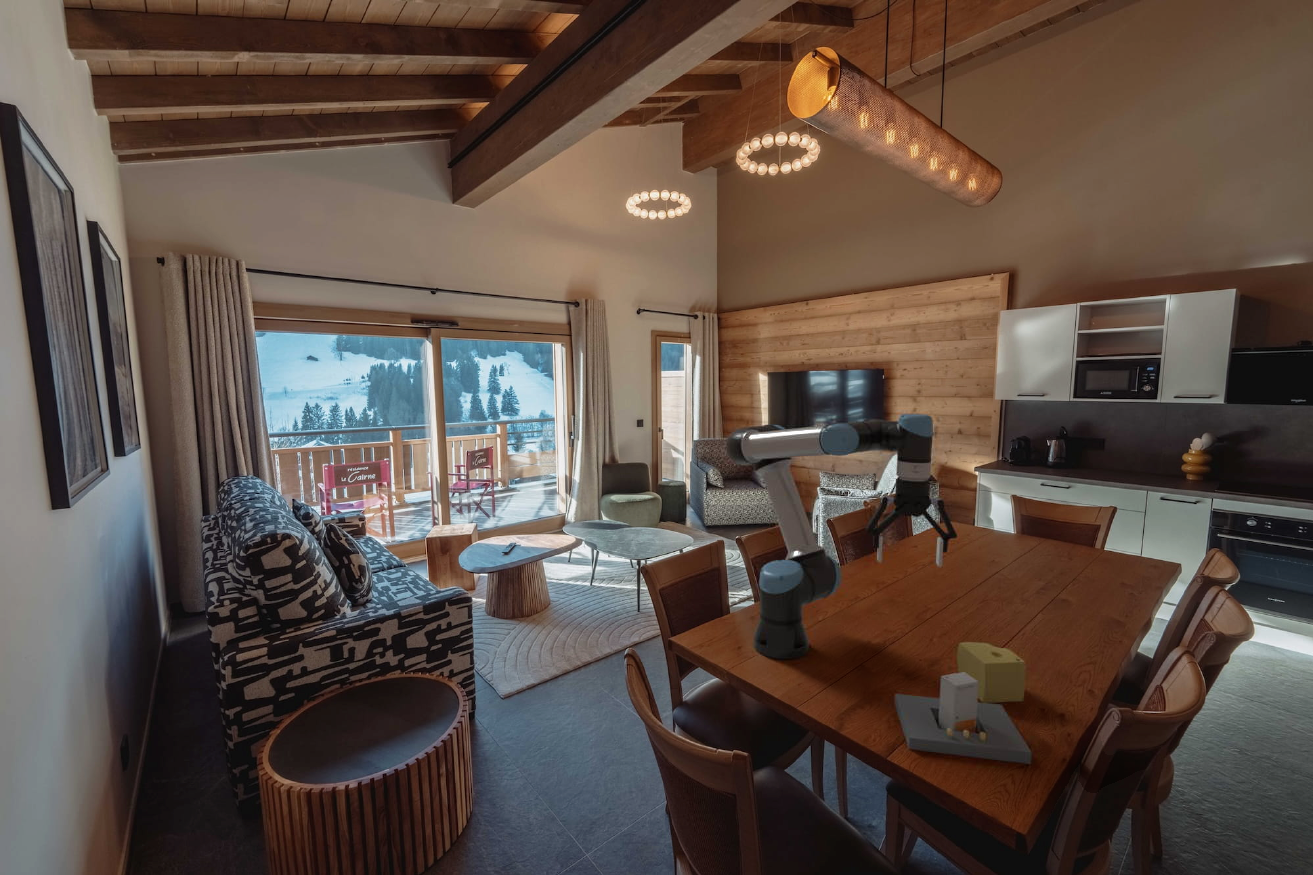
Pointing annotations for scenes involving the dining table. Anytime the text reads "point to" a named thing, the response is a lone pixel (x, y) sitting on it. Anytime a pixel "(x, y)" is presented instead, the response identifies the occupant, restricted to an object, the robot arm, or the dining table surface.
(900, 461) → the robot arm
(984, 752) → the grey frame plate
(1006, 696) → the cheese
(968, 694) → the skincare box
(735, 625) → the dining table surface
